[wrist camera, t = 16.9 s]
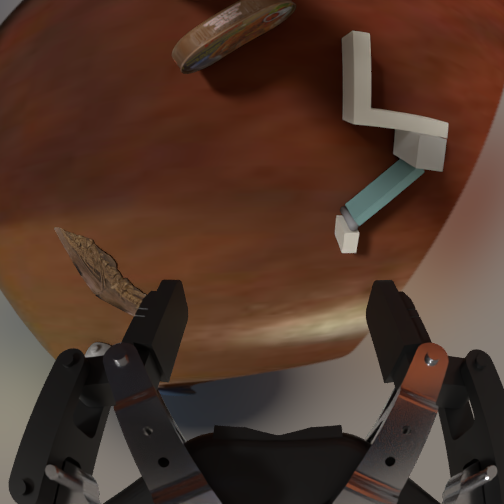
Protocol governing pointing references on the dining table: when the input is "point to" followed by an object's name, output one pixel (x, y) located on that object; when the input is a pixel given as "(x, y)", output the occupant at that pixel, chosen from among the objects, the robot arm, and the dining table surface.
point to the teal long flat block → (379, 193)
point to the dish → (97, 349)
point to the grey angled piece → (370, 112)
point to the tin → (229, 32)
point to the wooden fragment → (101, 272)
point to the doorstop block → (420, 149)
